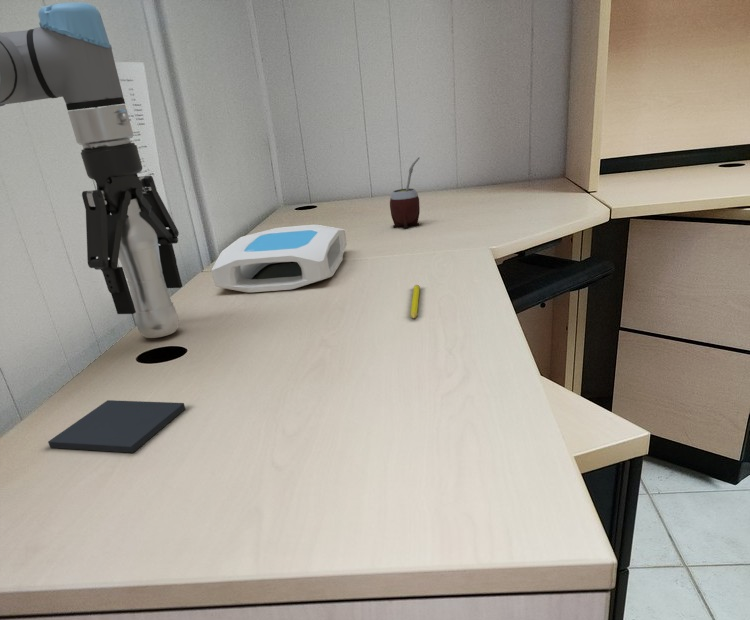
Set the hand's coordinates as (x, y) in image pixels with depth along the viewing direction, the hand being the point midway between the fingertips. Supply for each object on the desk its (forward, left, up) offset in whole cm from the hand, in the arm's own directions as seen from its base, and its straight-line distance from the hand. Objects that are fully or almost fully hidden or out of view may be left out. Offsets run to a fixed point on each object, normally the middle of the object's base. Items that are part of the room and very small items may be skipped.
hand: (151, 299), depth 102 cm
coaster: (+14, -31, -6) cm, 34 cm away
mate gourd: (+21, +77, -6) cm, 80 cm away
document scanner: (+6, +37, -6) cm, 38 cm away
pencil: (+38, +15, -6) cm, 41 cm away
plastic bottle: (0, 0, -6) cm, 6 cm away
